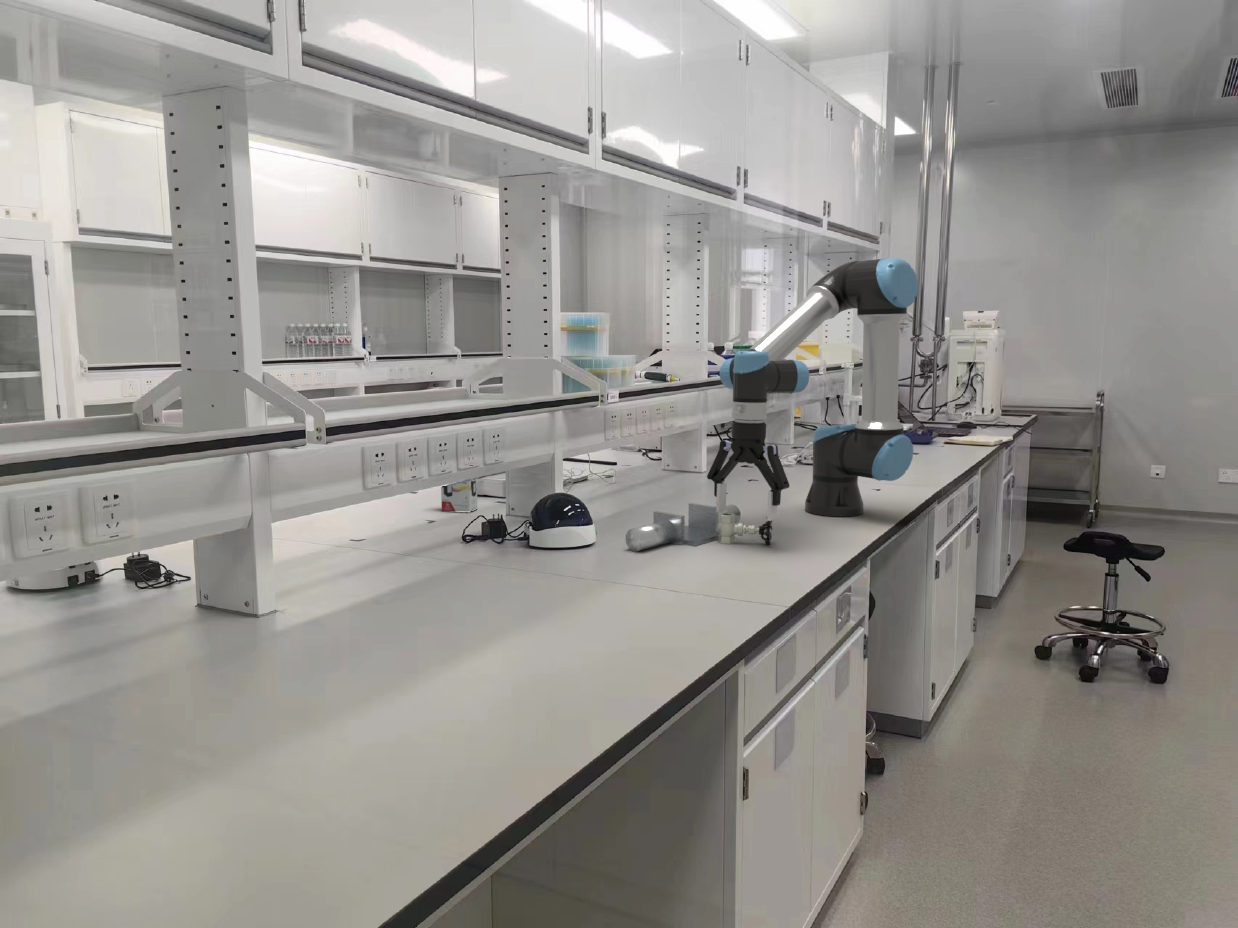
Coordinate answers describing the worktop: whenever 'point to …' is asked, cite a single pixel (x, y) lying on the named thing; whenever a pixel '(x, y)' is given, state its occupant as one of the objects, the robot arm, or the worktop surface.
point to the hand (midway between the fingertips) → (745, 515)
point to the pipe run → (680, 528)
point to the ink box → (459, 497)
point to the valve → (740, 529)
